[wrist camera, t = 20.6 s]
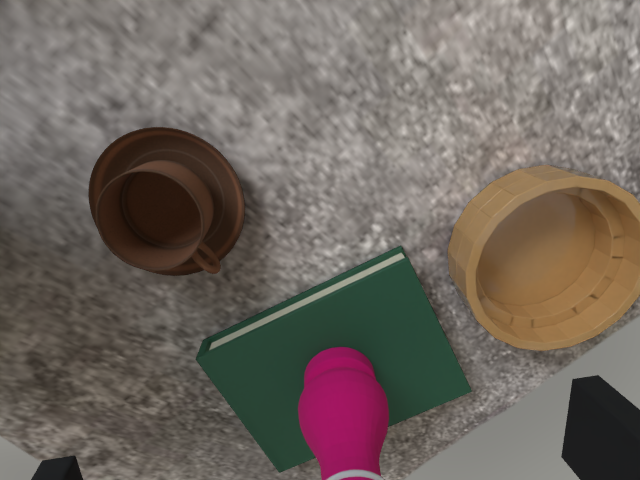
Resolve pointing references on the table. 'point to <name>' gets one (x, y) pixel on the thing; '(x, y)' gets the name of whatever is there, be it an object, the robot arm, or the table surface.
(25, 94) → the table surface
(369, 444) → the pepper mill
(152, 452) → the table surface
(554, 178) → the bowl
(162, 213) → the cup and saucer
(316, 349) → the book
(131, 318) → the table surface
